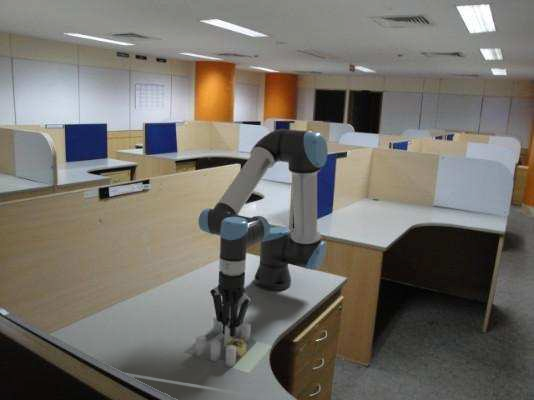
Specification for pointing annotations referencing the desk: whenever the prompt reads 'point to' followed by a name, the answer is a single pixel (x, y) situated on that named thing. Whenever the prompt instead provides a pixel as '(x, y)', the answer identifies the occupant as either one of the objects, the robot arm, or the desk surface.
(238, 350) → the nut
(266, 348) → the spacer field
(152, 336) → the desk surface
